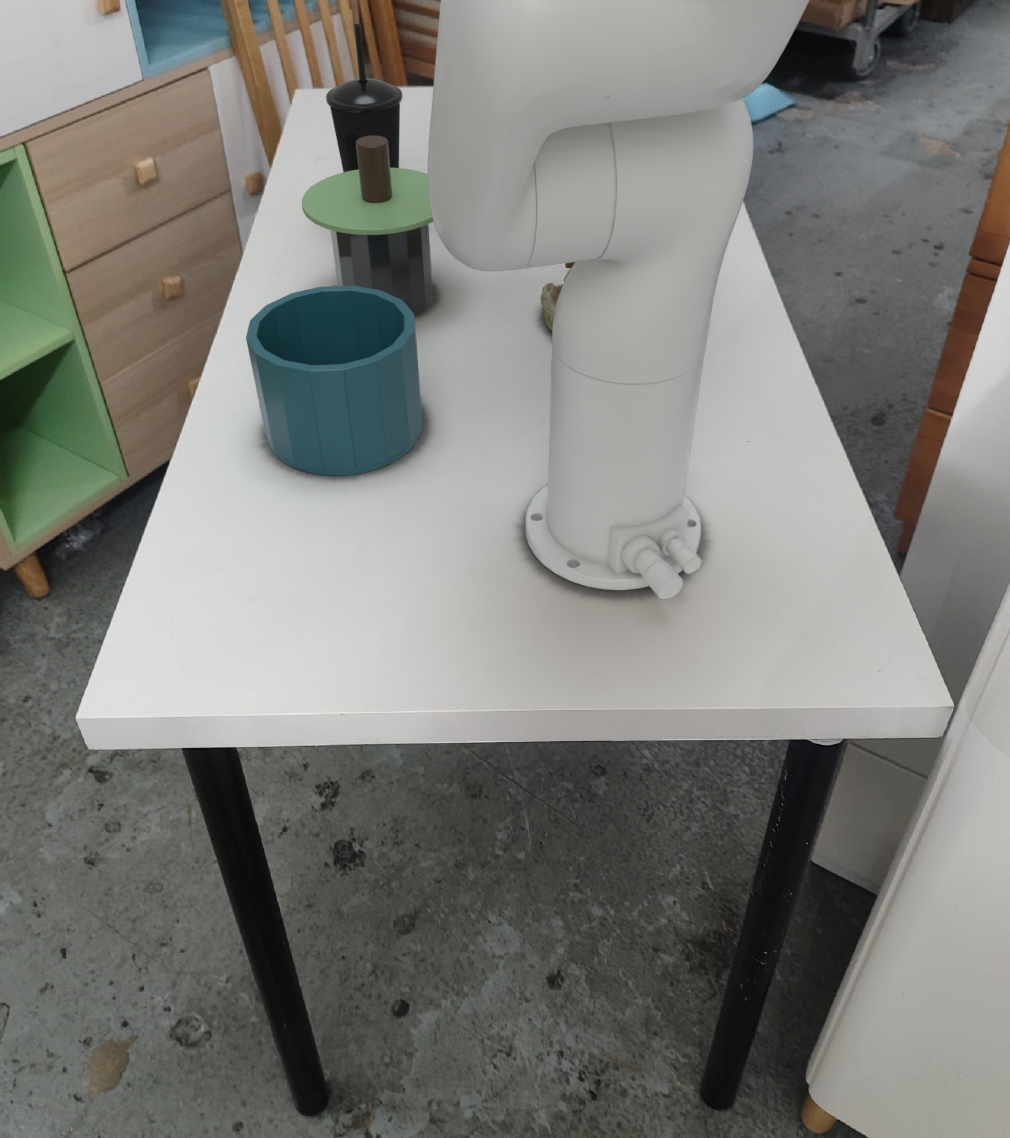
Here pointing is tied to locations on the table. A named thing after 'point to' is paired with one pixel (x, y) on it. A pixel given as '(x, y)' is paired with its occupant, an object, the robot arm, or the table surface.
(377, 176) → the lid
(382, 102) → the drinking cup
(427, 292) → the cup
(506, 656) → the table surface
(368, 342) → the tin
